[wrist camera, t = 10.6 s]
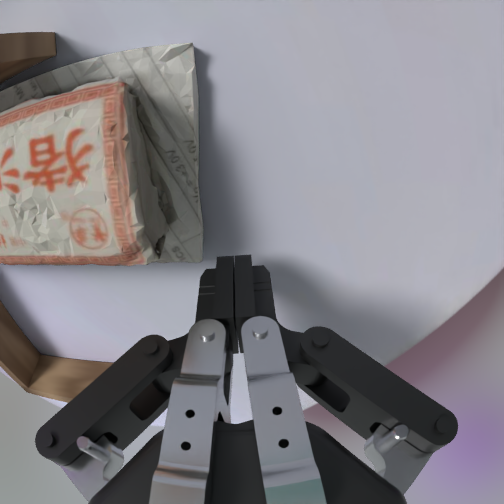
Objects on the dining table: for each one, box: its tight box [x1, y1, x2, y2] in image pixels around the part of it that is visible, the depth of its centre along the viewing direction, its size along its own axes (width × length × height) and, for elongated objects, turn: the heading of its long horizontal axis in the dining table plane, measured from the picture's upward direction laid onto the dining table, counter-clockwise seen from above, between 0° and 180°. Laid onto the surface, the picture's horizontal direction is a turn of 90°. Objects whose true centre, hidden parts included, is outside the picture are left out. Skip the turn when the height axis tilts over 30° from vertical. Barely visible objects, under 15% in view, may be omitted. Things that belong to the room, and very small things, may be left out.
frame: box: [0, 32, 113, 403], centre depth 13 cm, size 14×24×4 cm, turn 3°
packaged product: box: [0, 43, 203, 266], centre depth 10 cm, size 18×5×10 cm
